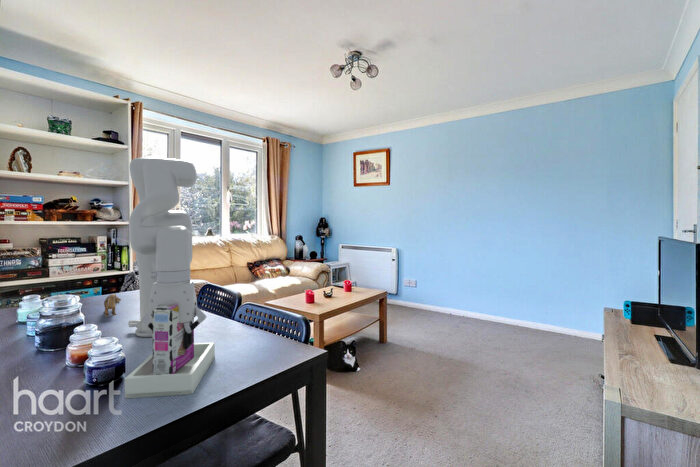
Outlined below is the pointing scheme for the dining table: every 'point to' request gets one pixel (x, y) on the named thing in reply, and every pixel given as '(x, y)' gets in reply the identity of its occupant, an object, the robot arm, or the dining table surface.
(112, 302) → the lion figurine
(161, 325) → the candy bar box
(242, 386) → the dining table surface
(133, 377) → the tray
